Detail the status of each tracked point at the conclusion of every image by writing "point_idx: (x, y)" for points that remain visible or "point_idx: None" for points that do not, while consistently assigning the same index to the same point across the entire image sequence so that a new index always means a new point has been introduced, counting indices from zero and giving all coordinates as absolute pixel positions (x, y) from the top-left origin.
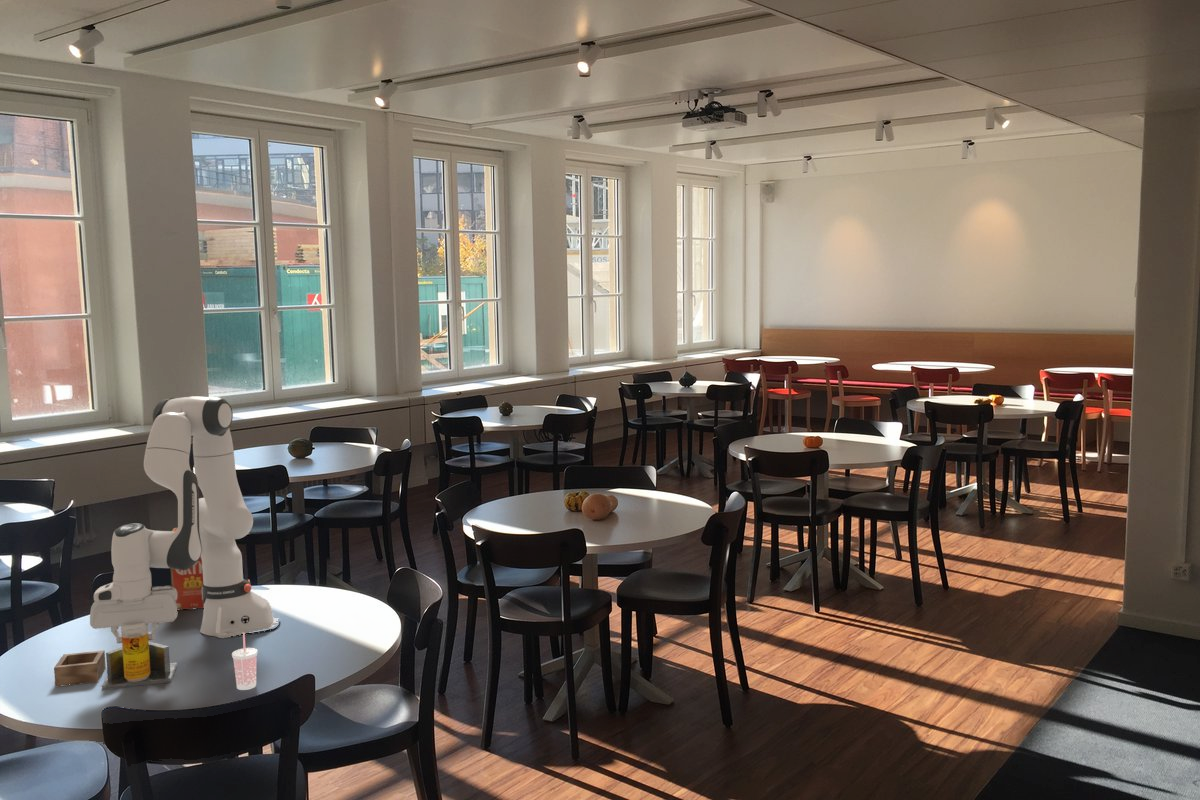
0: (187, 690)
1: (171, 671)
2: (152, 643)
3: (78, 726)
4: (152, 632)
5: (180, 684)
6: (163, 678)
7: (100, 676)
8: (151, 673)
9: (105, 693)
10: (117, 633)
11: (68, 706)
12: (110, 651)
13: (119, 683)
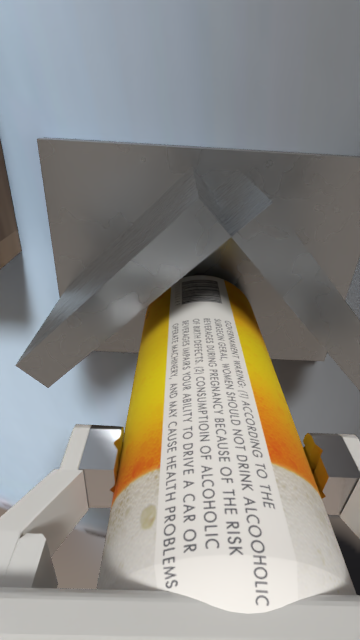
0: (356, 430)
1: (340, 292)
2: (315, 290)
3: (89, 526)
4: (357, 527)
5: (346, 382)
6: (298, 355)
7: (7, 188)
8: (254, 283)
9: (95, 374)
10: (65, 525)
11: (9, 430)
12: (37, 353)
13: (132, 348)
